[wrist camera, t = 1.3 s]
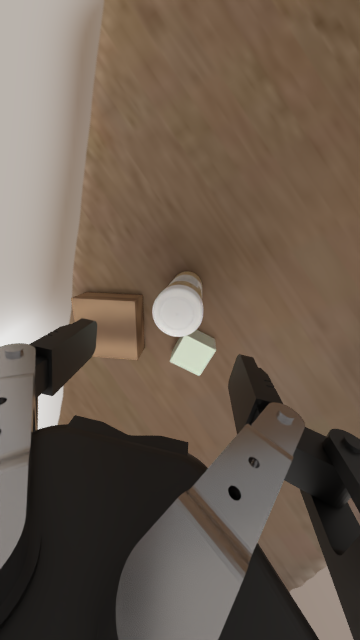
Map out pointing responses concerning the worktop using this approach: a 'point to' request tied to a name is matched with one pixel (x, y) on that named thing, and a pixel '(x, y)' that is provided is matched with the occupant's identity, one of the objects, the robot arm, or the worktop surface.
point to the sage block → (193, 352)
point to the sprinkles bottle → (179, 306)
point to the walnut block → (113, 322)
